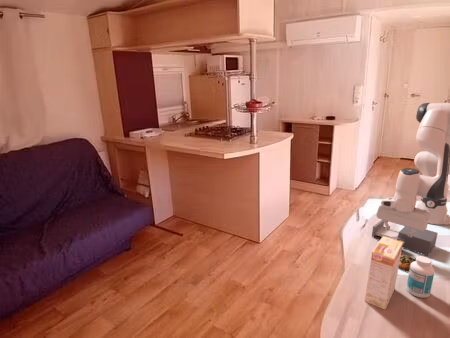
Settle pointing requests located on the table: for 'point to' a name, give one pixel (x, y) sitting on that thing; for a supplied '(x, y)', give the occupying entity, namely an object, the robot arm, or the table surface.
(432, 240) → the block
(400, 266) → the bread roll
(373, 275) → the coffeecake box
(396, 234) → the tray
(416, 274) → the pill bottle
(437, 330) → the table surface
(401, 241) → the disc
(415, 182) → the robot arm
